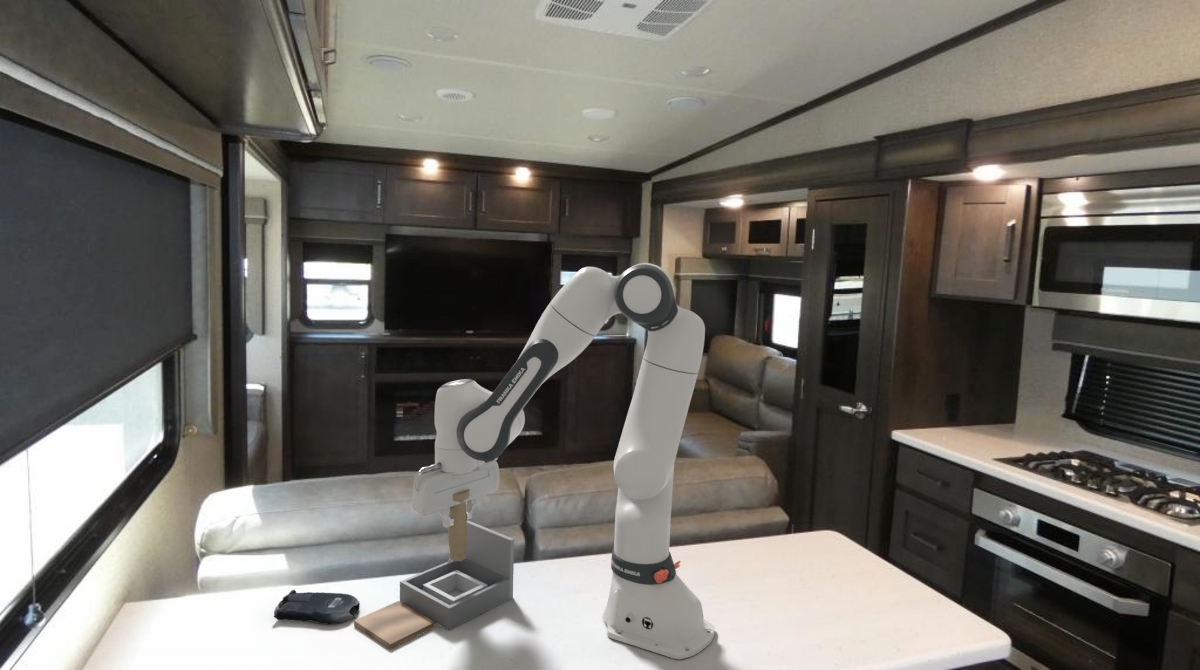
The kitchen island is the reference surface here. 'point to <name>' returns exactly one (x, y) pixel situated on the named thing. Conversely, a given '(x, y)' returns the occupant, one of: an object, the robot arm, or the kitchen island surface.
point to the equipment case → (464, 580)
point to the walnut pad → (394, 624)
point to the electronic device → (316, 607)
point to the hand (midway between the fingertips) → (457, 523)
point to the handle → (458, 527)
